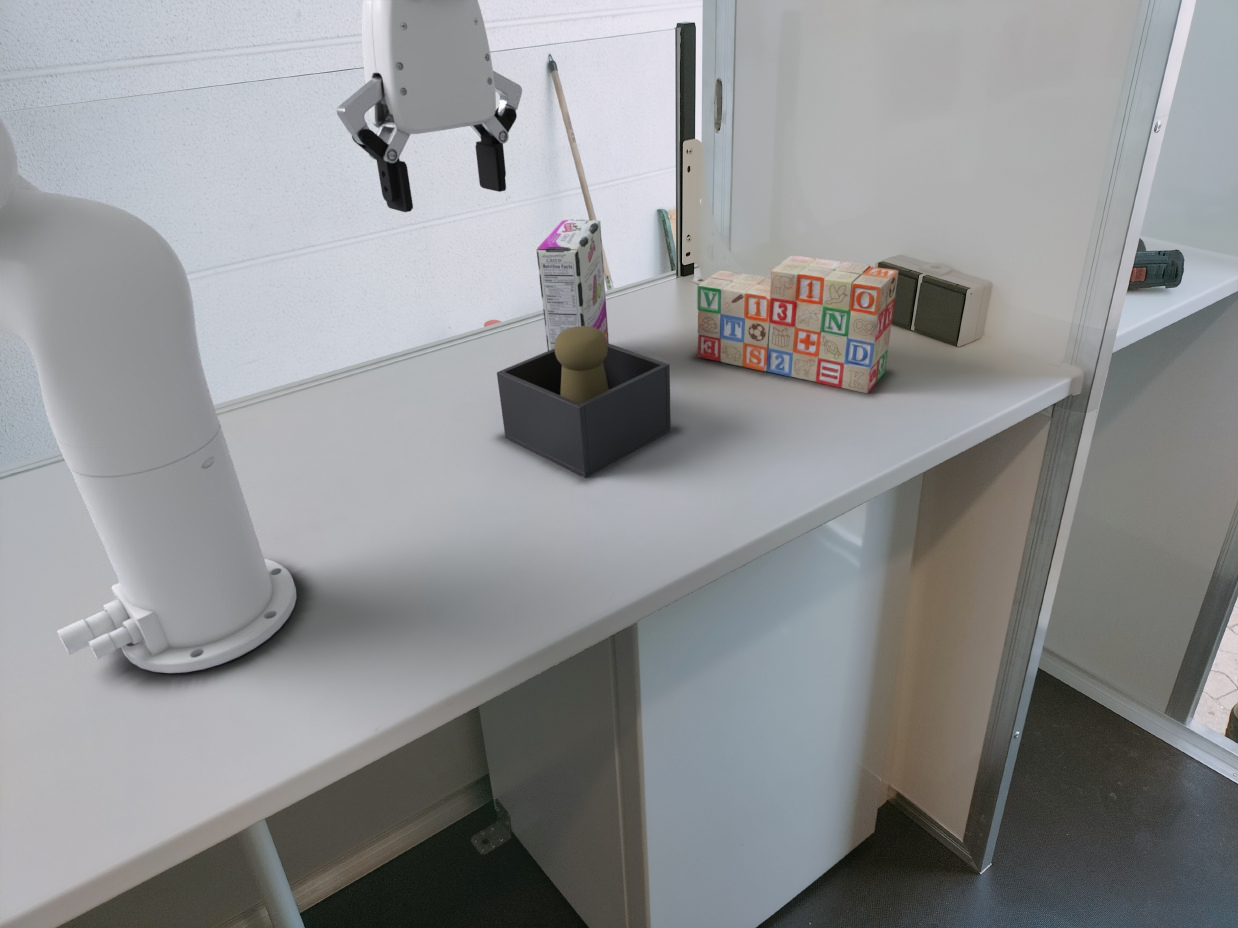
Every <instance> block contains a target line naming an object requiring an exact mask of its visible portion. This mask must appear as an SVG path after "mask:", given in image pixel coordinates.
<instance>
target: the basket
mask: <svg viewBox="0 0 1238 928" xmlns="http://www.w3.org/2000/svg"><path fill="white" fill-rule="evenodd" d="M607 348H608V351H607V356H606V358H605V359H604V361H603V365H604V370H605V374H606V379H607V384H608V389H609V390H608V391H606V392H604V393H602V394H600V395H598V396H595V397H593V398H591V399H589V400H587V401H585V402H583V403H581V404H579V403H577V402H574V401H572V400H570V399H567V398H565V397H563V396H560V394H561V373H562V365H561V363H560V362H559V361H558V360H557V357H556V355H555V348H554V349H552V350H549V351H548V350H547V351H545V352H542V353H540V354H537V355H535V356H532V357H530V358H528V359H526V360H523V361H520V362H518V363H515V364H513V365H511V366H509V367H506V368H504V369H501V370H499V371H497V372H496V378H497V386H498V392H499V393H498V394H499V402H500V409H501V416H502V422H503V429H504V438H505V439H506V440H509V442H512V443H514V444H516V445H519V446H520V447H523V448H525V449H527V450H528V451H531V452H533V453H535V454H537V455H539V456H540V457H543V458H544V459H546V460H548V461H551V462H552V463H554V464H556V465H558V466H560V467H563V468H565V469H567V470H569V471H571V472H573V473H575V474H576V475H579V476H580V477H582V478H584V479H585V478H588V477H590V476H591V475H593V474H595V473H597V472H598V471H601V470H602V469H605V468H606V467H608V466H610V465H612V464H613V463H616V462H617V461H618V460H620V459H622V458H625V457H626V456H629V455H630V454H631V453H633V452H635V451H637V450H638V449H640V448H643V447H644V446H646V445H648V444H650V443H652V442H653V441H655V440H657V439H659V438H660V437H662V436H664V435H666V434H668V433H670V432H671V431H672V428H671V426H672V423H671V421H672V420H671V419H672V418H671V370H670V369H671V366H670V364H669V363H666V362H663V361H661V360H657V359H654V358H652V357H649V356H646V355H643V354H640V353H637V352H634V351H632V350H629V349H626V348H623V347H620V346H617V345H614V344H612V343H607Z"/></svg>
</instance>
